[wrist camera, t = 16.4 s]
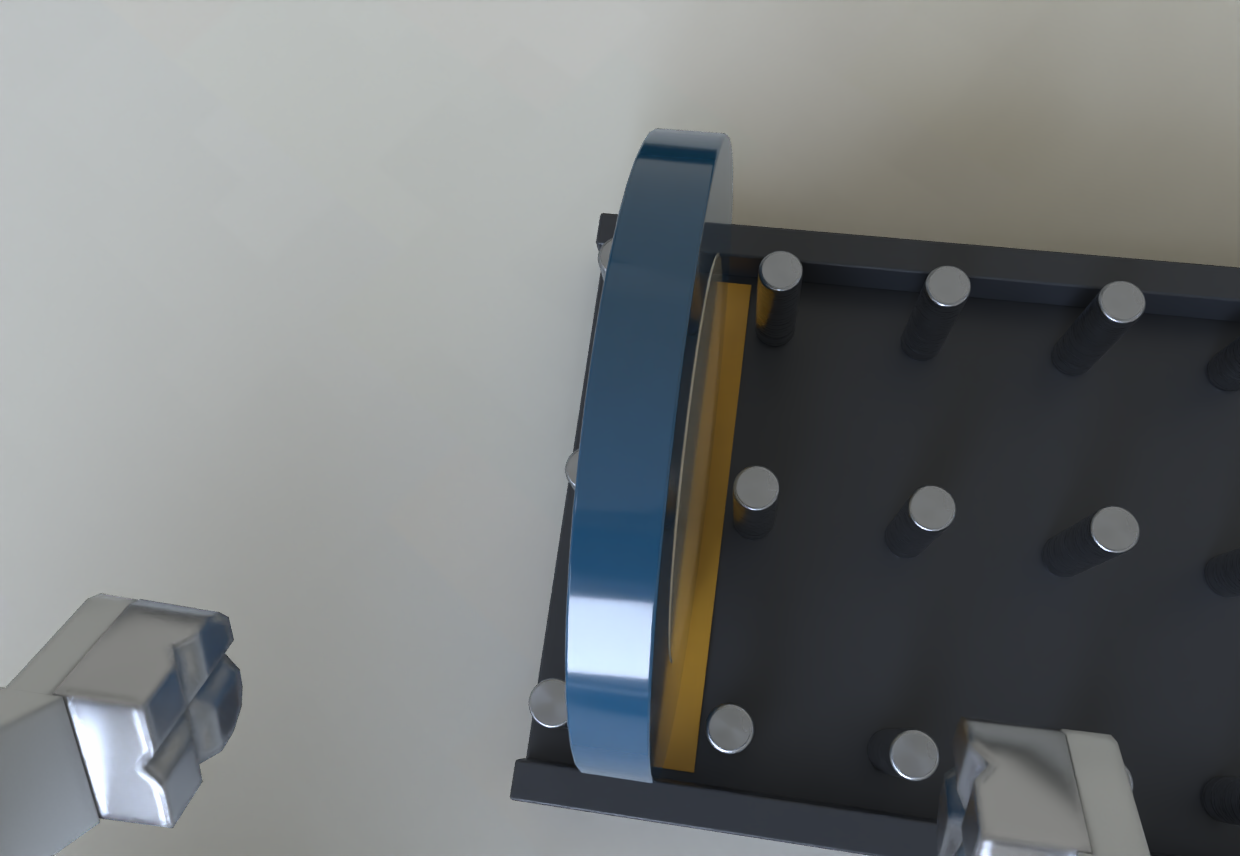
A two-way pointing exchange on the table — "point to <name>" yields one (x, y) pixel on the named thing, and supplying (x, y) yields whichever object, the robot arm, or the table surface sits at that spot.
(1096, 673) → the dish rack
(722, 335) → the plate
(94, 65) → the table surface
